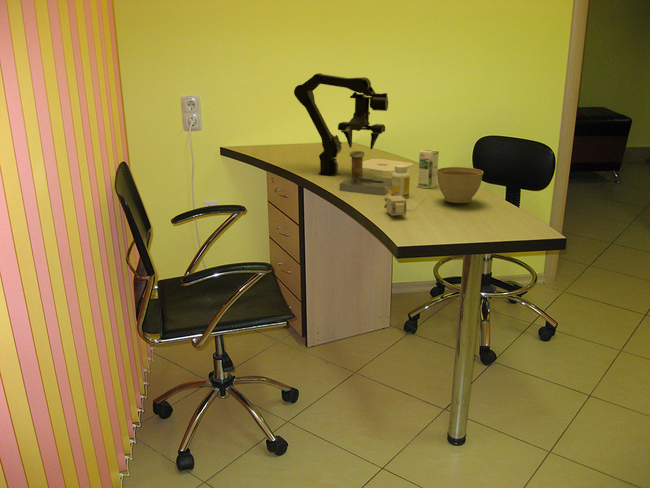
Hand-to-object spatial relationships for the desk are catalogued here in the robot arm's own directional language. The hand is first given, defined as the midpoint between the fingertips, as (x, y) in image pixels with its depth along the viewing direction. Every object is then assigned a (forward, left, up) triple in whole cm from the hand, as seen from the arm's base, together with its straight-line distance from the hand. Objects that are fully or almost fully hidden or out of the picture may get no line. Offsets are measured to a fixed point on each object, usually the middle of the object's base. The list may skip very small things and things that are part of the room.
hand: (360, 148), depth 252 cm
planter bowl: (+44, -21, -13) cm, 51 cm away
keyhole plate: (+8, -15, -13) cm, 21 cm away
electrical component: (+23, -38, -13) cm, 47 cm away
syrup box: (+29, -4, -13) cm, 32 cm away
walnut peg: (-1, -2, -13) cm, 13 cm away
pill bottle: (+23, -23, -13) cm, 35 cm away
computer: (+3, +22, -14) cm, 26 cm away
